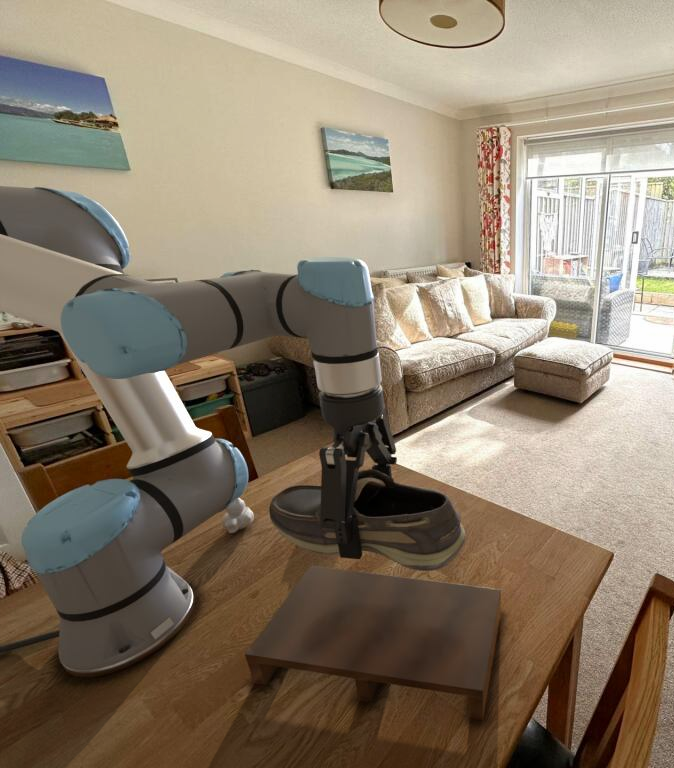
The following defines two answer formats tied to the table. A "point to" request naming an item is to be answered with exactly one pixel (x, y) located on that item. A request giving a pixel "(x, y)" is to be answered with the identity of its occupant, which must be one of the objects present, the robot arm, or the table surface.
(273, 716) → the table surface
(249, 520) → the white lobed figurine
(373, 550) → the boat shoe
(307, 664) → the small wooden pallet
